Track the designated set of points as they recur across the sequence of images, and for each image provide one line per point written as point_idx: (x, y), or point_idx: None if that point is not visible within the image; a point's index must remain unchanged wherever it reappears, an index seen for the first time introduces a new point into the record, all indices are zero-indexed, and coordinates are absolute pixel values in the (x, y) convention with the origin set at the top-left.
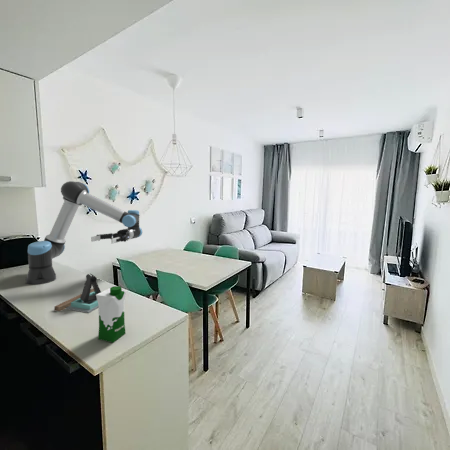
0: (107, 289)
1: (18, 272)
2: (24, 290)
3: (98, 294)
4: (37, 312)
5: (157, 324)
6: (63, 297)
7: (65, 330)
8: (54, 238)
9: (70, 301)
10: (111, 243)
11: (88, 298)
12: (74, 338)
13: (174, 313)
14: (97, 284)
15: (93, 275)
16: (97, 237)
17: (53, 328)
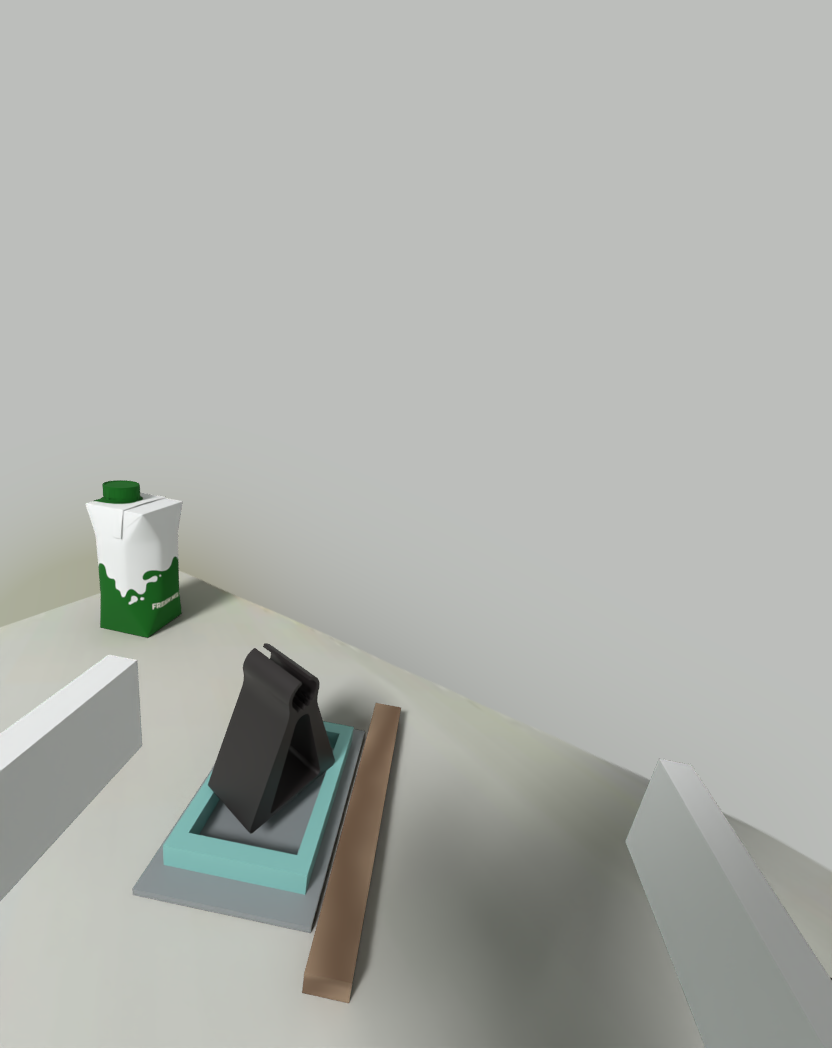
0: (150, 510)
1: None
2: (799, 922)
3: (175, 501)
4: (445, 707)
5: None
6: (475, 850)
7: (284, 637)
8: None
9: (369, 749)
10: (139, 742)
11: (287, 759)
12: (244, 616)
13: None
14: (238, 699)
15: (267, 663)
16: (770, 1036)
17: (322, 643)
